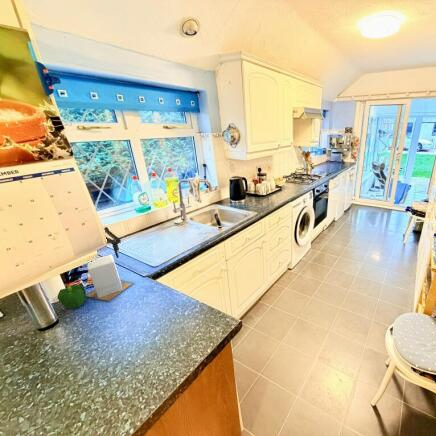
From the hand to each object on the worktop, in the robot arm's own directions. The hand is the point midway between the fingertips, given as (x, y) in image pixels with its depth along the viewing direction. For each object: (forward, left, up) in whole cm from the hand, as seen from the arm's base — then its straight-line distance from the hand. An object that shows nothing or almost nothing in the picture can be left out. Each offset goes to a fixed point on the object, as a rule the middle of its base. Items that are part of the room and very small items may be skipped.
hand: (100, 261), depth 109 cm
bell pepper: (+3, -16, -11) cm, 20 cm away
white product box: (+8, -5, -10) cm, 14 cm away
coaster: (+8, -5, -10) cm, 14 cm away
